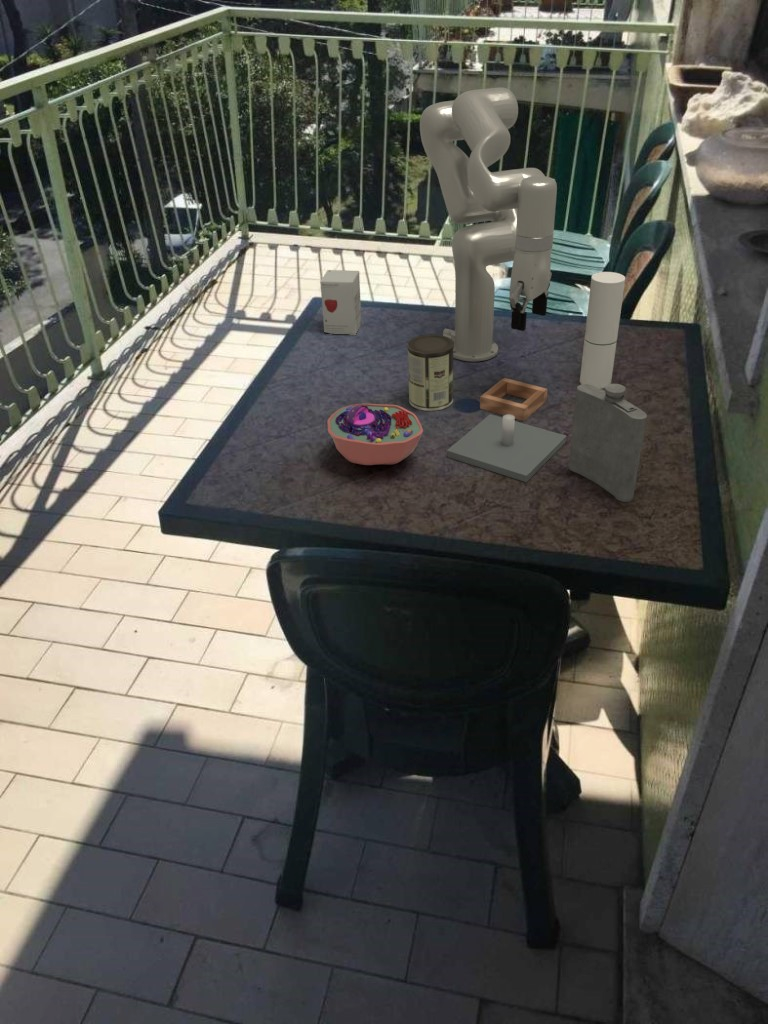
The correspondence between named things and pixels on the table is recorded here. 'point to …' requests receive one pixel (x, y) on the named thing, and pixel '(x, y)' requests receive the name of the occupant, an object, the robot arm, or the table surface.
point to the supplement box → (341, 301)
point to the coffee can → (430, 372)
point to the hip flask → (607, 439)
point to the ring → (501, 406)
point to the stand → (507, 447)
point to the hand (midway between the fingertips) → (528, 321)
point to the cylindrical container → (602, 328)
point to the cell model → (374, 433)
